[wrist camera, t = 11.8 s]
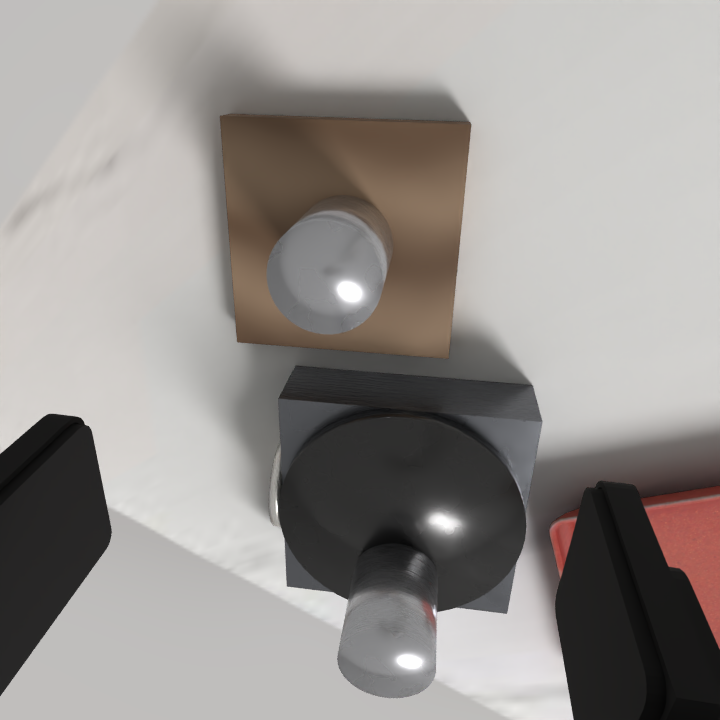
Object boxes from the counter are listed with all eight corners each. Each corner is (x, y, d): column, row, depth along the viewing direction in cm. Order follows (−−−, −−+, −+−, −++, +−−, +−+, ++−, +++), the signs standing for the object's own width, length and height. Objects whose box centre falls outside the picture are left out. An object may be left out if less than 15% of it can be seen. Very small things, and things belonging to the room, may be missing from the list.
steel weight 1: (296, 192, 30) (264, 217, 24) (395, 197, 29) (385, 224, 24) (298, 287, 32) (268, 330, 27) (390, 294, 31) (380, 338, 26)
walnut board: (230, 114, 30) (219, 116, 29) (470, 121, 29) (471, 124, 27) (245, 331, 35) (237, 342, 34) (448, 347, 34) (448, 358, 33)
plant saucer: (866, 432, 33) (907, 468, 30) (862, 653, 40) (895, 699, 37) (538, 487, 38) (545, 522, 35) (584, 677, 45) (594, 720, 42)
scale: (284, 359, 37) (258, 406, 31) (531, 379, 35) (545, 432, 30) (291, 534, 43) (269, 596, 38) (501, 558, 41) (508, 627, 36)
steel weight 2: (355, 538, 35) (337, 624, 29) (441, 548, 34) (439, 637, 29) (353, 600, 37) (337, 690, 31) (434, 610, 36) (431, 704, 31)
